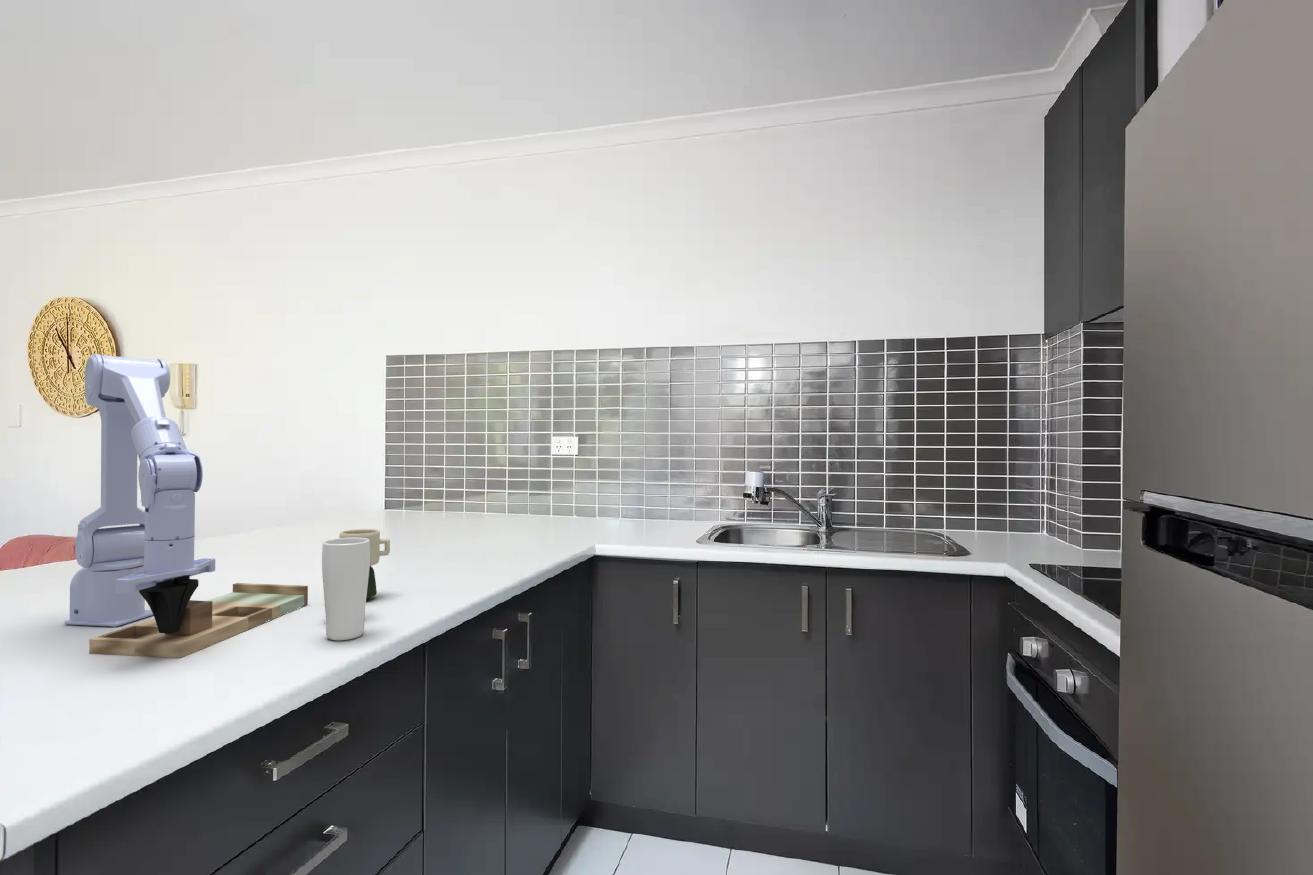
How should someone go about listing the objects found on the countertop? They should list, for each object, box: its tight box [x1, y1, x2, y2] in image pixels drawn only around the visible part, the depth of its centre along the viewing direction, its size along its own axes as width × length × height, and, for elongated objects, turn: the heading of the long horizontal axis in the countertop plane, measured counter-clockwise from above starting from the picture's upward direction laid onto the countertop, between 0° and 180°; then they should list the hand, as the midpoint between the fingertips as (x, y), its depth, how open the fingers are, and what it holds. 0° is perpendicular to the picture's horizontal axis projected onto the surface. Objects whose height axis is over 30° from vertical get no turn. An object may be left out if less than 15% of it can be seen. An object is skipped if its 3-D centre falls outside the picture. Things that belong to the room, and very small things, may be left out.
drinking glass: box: [321, 538, 370, 642], centre depth 99 cm, size 7×7×15 cm
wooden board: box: [88, 582, 309, 659], centre depth 104 cm, size 14×28×4 cm, turn 175°
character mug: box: [338, 528, 391, 600], centre depth 121 cm, size 11×7×13 cm, turn 126°
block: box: [165, 599, 213, 636], centre depth 95 cm, size 4×4×4 cm
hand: (168, 632), depth 91 cm, fingers closed
